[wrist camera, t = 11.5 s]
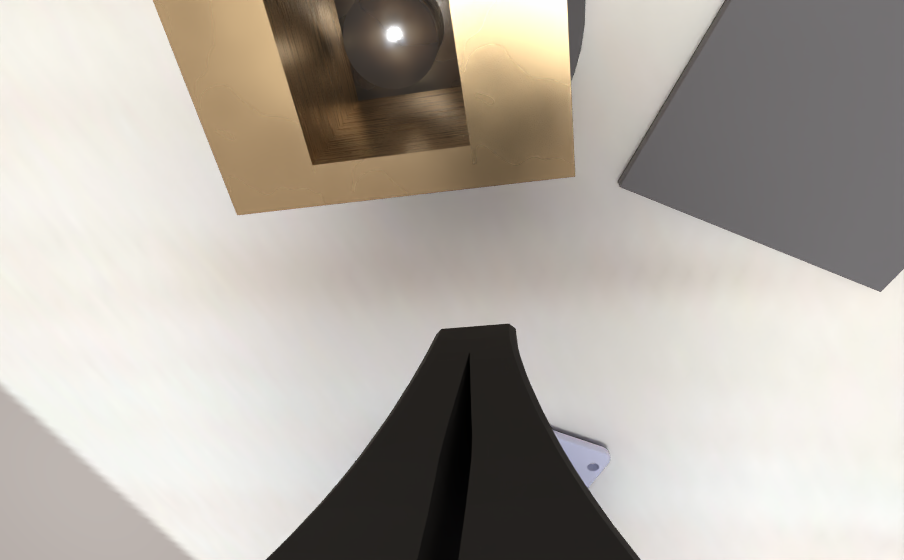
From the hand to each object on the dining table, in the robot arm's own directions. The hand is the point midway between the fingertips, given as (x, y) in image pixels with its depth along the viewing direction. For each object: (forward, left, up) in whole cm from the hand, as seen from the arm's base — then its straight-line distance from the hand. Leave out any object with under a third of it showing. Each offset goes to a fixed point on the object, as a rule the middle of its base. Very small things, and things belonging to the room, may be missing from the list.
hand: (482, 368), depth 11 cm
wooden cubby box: (+3, +4, -9) cm, 10 cm away
